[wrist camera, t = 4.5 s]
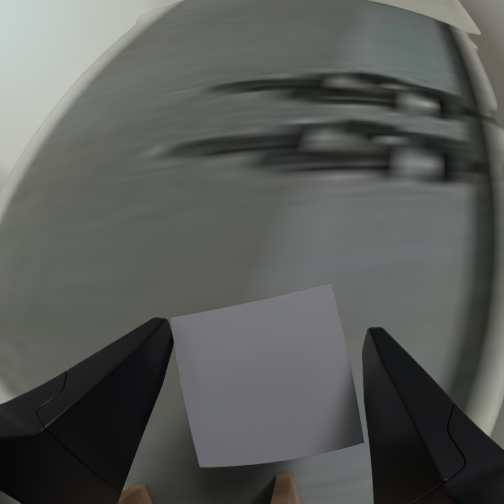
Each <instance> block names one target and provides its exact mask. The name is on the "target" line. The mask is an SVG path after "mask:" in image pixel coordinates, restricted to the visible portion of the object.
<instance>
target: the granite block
mask: <svg viewBox="0 0 504 504" xmlns="http://www.w3.org/2000/svg"><path fill="white" fill-rule="evenodd" d="M171 324H172V331H173V338H174V345H175V351H176V358H177V364H178V370H179V375H180V381H181V386H182V391H183V396H184V401H185V406H186V411H187V416H188V420H189V425H190V429H191V434H192V438H193V442H194V446H195V450H196V454H197V458H198V462H199V465H200V467H227V466H242V465H253V464H262V463H270V462H278V461H284V460H291V459H297V458H302V457H307V456H312V455H317V454H322V453H326V452H330V451H334V450H338V449H342V448H346V447H350V446H353V445H357V444H360V443H364V440H363V433H362V427H361V421H360V415H359V409H358V403H357V398H356V392H355V387H354V382H353V376H352V371H351V367H350V362H349V357H348V352H347V348H346V343H345V339H344V334H343V330H342V326H341V321H340V317H339V313H338V309H337V305H336V301H335V297H334V293H333V289H332V285H331V284H327V285H323V286H319V287H315V288H311V289H307V290H303V291H299V292H295V293H290V294H286V295H282V296H277V297H273V298H268V299H264V300H259V301H255V302H250V303H245V304H241V305H236V306H231V307H226V308H221V309H216V310H211V311H206V312H201V313H196V314H191V315H185V316H180V317H174V318H171Z"/></svg>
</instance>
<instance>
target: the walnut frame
mask: <svg viewBox="0 0 504 504" xmlns="http://www.w3.org/2000/svg"><path fill="white" fill-rule="evenodd" d="M118 504H153V503H152V500H151V498H150V496H149V494H148V491H147V489H146V487H145V485H143V484H134V485H133V486H131V487H130V488H128V489H126V490H125V491H123V492H122V493H121V496H120V499H119V502H118ZM271 504H301V501H300V498H299V495H298V492H297V489H296V486H295V482H294V479H293V476H292V473H291V472H288V473H284V474H279V475H277V477H276V482H275V486H274V491H273V495H272V500H271Z"/></svg>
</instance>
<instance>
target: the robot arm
mask: <svg viewBox="0 0 504 504" xmlns="http://www.w3.org/2000/svg"><path fill="white" fill-rule="evenodd" d="M173 345H174V338H173V334H172V331H171V328H170V324H169V322H168V320H167V319H165V318H158V317H155V318H153V319H151V320H149V321H148V322H146V323H144V324H143V325H141V326H139V327H138V328H136V329H134V330H133V331H131V332H130V333H128V334H126V335H125V336H123V337H121V338H120V339H118V340H116V341H115V342H113V343H111V344H110V345H108V346H107V347H105V348H103V349H102V350H100V351H98V352H97V353H95V354H93V355H92V356H90V357H88V358H87V359H85V360H83V361H82V362H80V363H78V364H77V365H75V366H73V367H72V368H70V369H69V370H68V371H65V372H63V373H62V374H60V375H58V376H57V377H55V378H53V379H52V380H50V381H48V382H46V383H44V384H42V385H41V386H39V387H37V388H35V389H33V390H31V391H29V392H26V393H24V394H22V395H20V396H18V397H16V398H14V399H12V400H10V401H8V402H5V403H3V404H0V504H118V502H119V499H120V496H121V492H122V490H123V487H124V484H125V482H126V479H127V476H128V473H129V471H130V468H131V465H132V462H133V460H134V457H135V454H136V452H137V449H138V446H139V444H140V441H141V438H142V436H143V433H144V431H145V428H146V425H147V423H148V420H149V418H150V415H151V413H152V410H153V408H154V405H155V403H156V400H157V398H158V395H159V393H160V390H161V387H162V384H163V381H164V378H165V374H166V370H167V367H168V363H169V359H170V356H171V352H172V349H173ZM362 361H363V386H364V405H365V413H366V420H367V428H368V437H369V446H370V456H371V467H372V480H373V496H374V504H504V450H503V449H502V448H501V447H500V446H499V445H497V444H496V443H495V442H494V441H493V440H492V439H491V438H490V437H489V436H487V435H486V434H485V433H484V432H483V431H482V430H481V429H480V428H479V427H478V426H477V425H476V424H475V423H474V422H473V421H472V420H471V419H470V418H469V417H468V416H467V415H466V414H465V413H464V412H463V411H462V410H461V409H460V408H459V406H458V405H457V404H456V403H454V401H453V400H452V399H451V398H450V397H449V396H448V395H447V394H446V393H445V391H444V390H443V389H442V388H441V387H440V386H439V385H438V384H437V383H436V382H435V381H434V380H433V379H432V378H431V377H430V376H429V375H428V373H427V372H426V371H425V370H424V369H423V368H422V367H421V366H420V365H419V364H418V363H417V362H416V361H415V360H414V359H413V358H412V357H411V356H410V355H409V354H408V353H407V352H406V351H405V350H404V349H403V348H402V347H401V346H400V345H399V344H398V343H397V342H396V341H395V340H394V339H393V338H392V337H391V336H390V335H389V334H388V333H387V332H386V331H385V330H384V329H383V328H382V327H370V328H369V329H368V330H367V333H366V337H365V341H364V345H363V350H362ZM453 403H454V404H453Z"/></svg>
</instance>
